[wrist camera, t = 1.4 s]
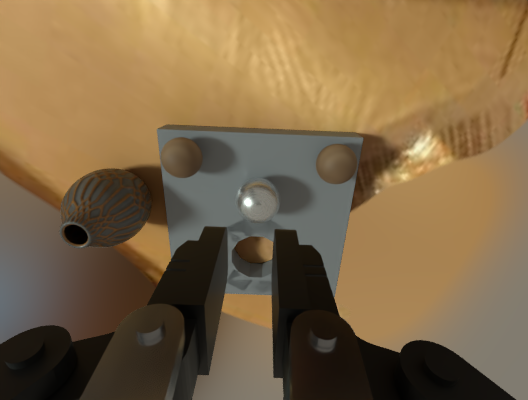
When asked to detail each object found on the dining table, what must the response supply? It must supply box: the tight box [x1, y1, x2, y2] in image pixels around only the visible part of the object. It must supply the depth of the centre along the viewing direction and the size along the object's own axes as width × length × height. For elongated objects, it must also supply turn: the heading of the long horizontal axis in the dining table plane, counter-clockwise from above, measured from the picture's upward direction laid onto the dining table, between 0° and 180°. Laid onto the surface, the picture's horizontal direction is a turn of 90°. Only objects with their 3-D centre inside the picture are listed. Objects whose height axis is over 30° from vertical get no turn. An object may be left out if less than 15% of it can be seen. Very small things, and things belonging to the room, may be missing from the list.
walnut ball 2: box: [316, 144, 357, 184], centre depth 24 cm, size 3×3×3 cm
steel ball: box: [235, 178, 280, 223], centre depth 25 cm, size 4×4×4 cm
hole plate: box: [157, 125, 363, 297], centre depth 29 cm, size 18×18×2 cm
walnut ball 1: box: [161, 137, 203, 178], centre depth 24 cm, size 3×3×3 cm
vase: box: [60, 169, 151, 248], centre depth 25 cm, size 7×7×9 cm
